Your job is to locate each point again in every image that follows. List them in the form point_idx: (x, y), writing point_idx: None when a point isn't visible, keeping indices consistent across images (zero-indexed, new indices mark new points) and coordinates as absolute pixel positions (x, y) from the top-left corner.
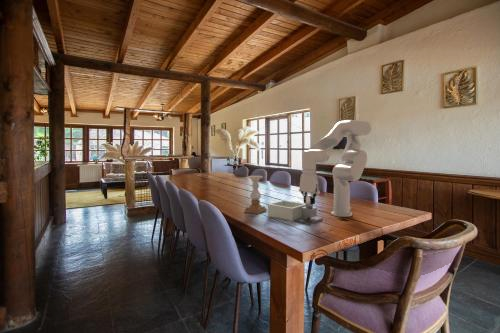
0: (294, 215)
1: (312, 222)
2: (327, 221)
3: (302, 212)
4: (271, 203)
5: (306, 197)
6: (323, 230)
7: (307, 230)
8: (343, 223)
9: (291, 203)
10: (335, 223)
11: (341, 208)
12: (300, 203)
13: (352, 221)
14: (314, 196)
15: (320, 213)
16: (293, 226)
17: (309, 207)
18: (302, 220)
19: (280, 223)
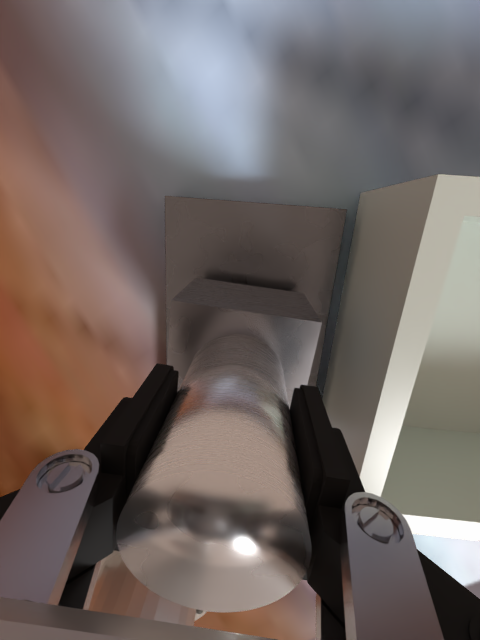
0: (373, 237)
1: (167, 244)
2: (132, 391)
3: (301, 303)
4: None
5: (251, 445)
6: (4, 128)
7: (98, 13)
8: (26, 404)
9: None
10: (62, 375)
11: (104, 603)
12: (438, 517)
13: (18, 474)
14: (9, 495)
15: None
16: (280, 50)
17: (208, 345)
18: (264, 229)
19: (454, 60)
